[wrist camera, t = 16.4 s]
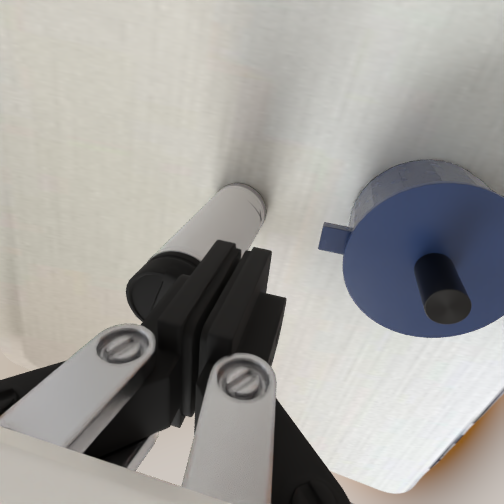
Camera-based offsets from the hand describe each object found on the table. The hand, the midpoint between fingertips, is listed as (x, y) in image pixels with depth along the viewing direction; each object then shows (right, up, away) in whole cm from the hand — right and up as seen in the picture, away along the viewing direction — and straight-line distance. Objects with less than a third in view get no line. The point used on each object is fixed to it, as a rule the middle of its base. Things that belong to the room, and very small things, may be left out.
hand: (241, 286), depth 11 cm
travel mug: (-1, +6, +31) cm, 32 cm away
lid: (+15, 0, +20) cm, 25 cm away
